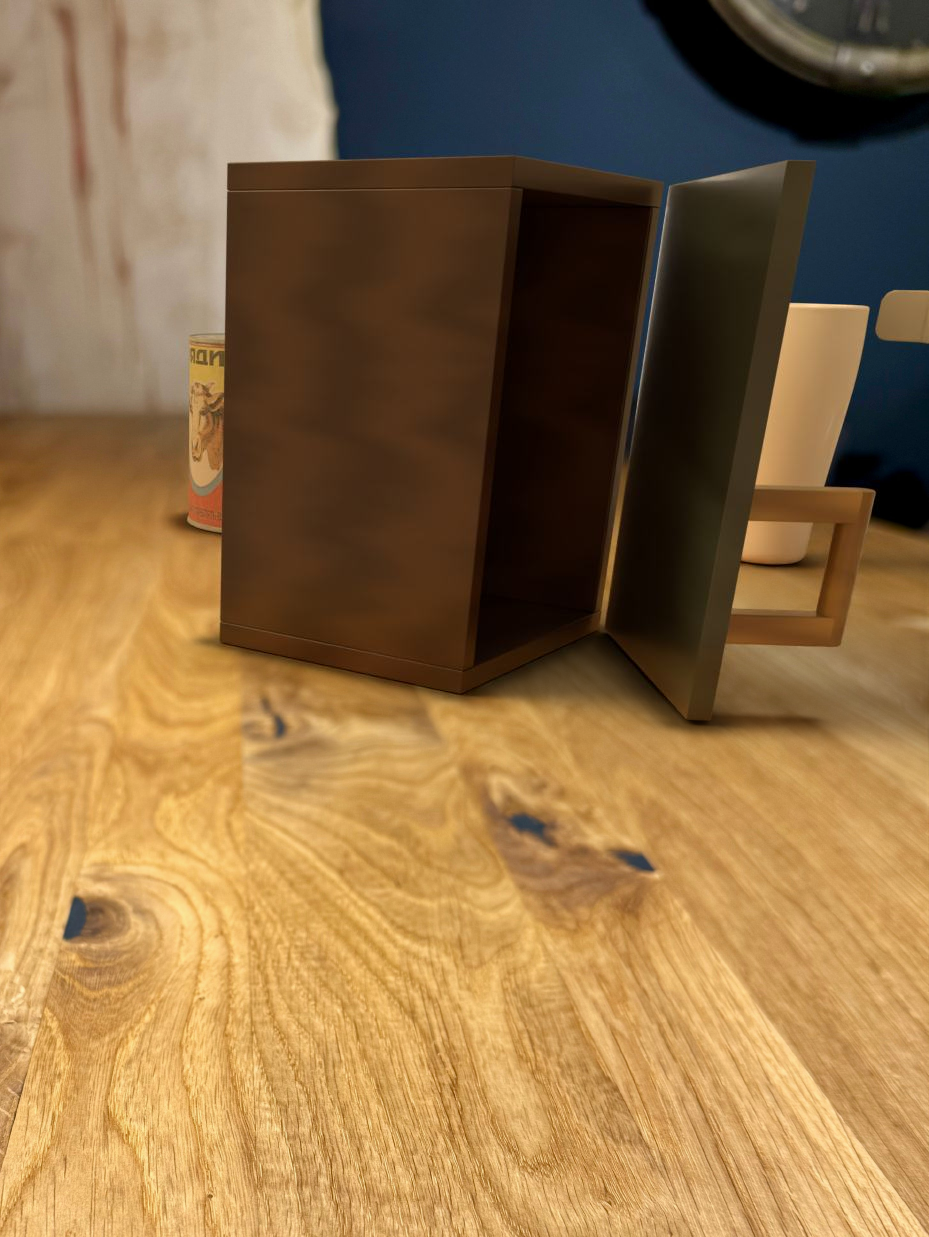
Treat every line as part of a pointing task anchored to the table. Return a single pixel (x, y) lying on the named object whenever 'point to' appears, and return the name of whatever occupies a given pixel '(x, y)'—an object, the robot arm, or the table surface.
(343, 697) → the table surface
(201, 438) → the canned food
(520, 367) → the cupboard
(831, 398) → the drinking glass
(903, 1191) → the table surface
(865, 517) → the cupboard door
